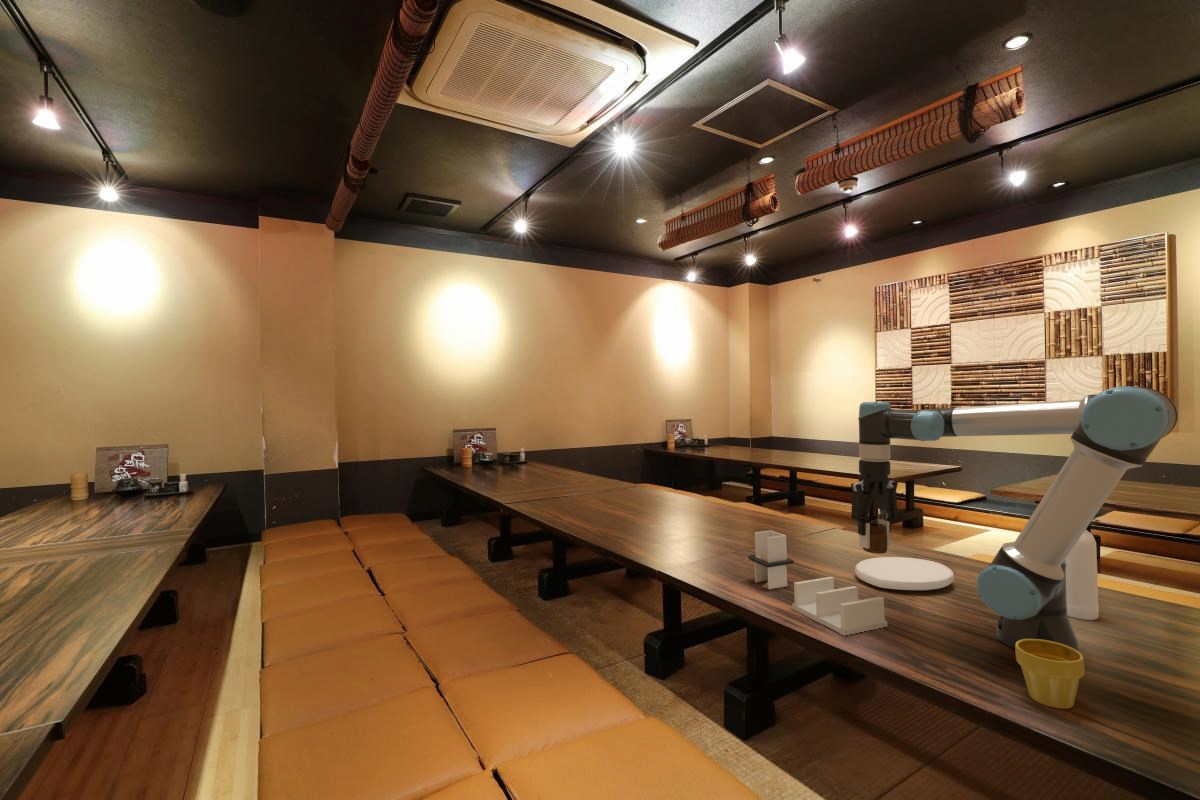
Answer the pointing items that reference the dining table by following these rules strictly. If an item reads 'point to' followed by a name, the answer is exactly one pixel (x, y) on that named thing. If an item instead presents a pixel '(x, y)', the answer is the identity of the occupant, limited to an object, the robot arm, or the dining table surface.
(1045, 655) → the plant pot
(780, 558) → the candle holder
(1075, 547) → the bottle
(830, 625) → the slot rack
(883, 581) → the plate
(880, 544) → the utensil holder
